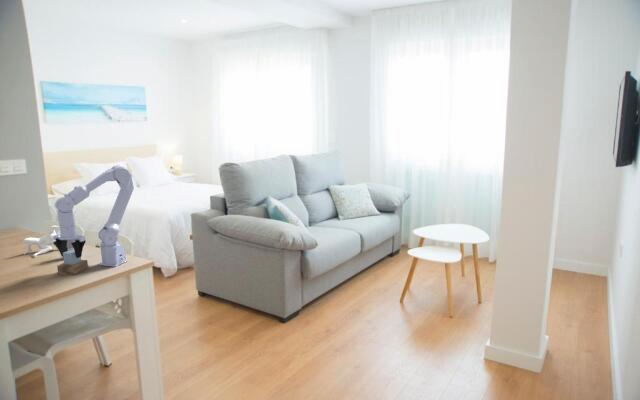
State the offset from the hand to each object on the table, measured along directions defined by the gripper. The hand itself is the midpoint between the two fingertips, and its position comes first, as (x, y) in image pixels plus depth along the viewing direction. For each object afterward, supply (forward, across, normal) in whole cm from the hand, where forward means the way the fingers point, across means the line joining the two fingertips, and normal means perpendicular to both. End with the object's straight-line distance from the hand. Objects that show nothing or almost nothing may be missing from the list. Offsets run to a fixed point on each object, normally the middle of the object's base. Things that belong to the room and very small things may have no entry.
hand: (71, 256), depth 182 cm
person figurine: (+7, -37, +21) cm, 43 cm away
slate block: (+3, 0, 0) cm, 3 cm away
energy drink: (+7, -17, +16) cm, 24 cm away
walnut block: (+7, 0, 0) cm, 7 cm away
